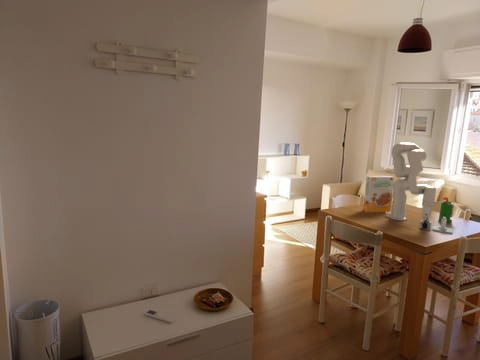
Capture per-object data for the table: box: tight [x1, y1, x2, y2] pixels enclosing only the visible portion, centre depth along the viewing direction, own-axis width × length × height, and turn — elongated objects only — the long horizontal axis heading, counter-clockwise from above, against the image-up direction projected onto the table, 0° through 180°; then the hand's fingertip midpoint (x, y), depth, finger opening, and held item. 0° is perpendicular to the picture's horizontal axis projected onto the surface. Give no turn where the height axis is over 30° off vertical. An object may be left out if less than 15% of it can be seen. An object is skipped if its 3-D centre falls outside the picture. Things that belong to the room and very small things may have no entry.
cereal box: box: [362, 175, 395, 213], centre depth 292 cm, size 22×6×30 cm, turn 104°
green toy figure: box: [438, 196, 455, 225], centre depth 265 cm, size 10×9×20 cm
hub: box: [419, 219, 432, 231], centre depth 249 cm, size 7×7×5 cm
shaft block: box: [432, 217, 454, 235], centre depth 245 cm, size 12×12×10 cm
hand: (425, 227), depth 249 cm, fingers closed on hub, 6 cm apart
